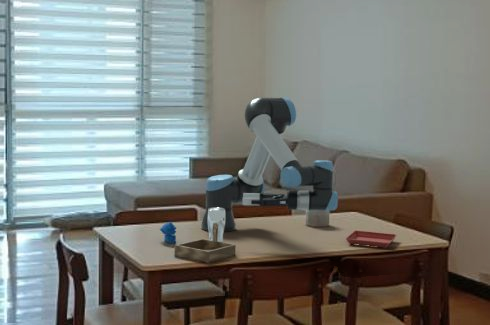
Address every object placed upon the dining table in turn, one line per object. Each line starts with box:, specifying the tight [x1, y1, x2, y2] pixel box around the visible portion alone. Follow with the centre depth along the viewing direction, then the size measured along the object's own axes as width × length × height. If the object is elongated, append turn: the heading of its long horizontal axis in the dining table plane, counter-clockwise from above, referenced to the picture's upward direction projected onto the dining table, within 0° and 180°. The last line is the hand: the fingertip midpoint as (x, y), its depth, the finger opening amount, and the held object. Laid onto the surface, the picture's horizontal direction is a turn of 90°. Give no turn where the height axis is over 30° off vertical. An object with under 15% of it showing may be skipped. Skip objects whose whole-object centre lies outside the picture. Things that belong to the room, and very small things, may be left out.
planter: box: [305, 210, 331, 228], centre depth 349 cm, size 11×11×10 cm
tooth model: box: [208, 207, 225, 243], centre depth 297 cm, size 7×7×15 cm
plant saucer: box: [345, 230, 397, 249], centre depth 313 cm, size 18×18×3 cm
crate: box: [174, 238, 236, 264], centre depth 282 cm, size 16×16×4 cm
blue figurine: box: [159, 221, 177, 244], centre depth 304 cm, size 7×8×11 cm
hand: (242, 199), depth 295 cm, fingers open, 13 cm apart
